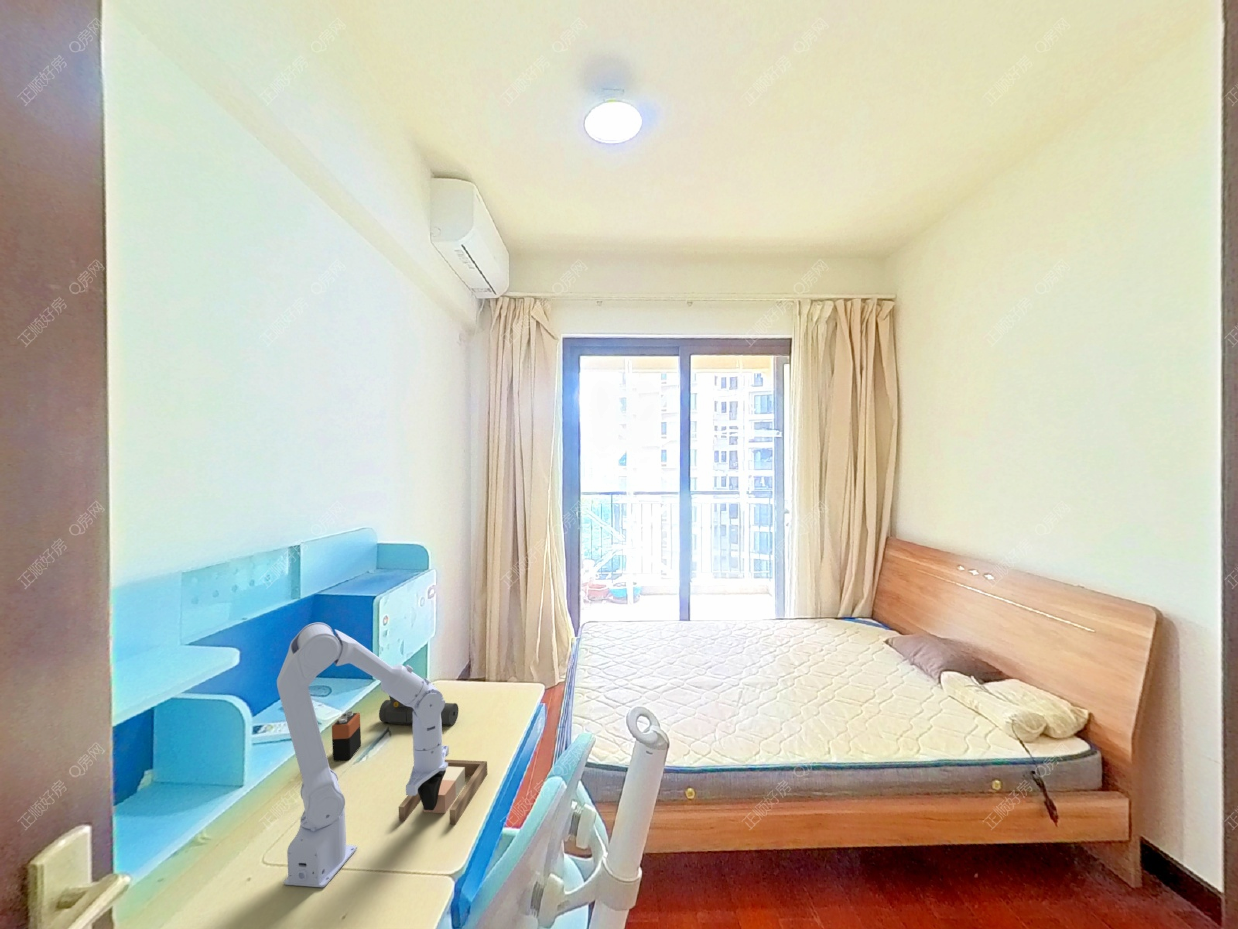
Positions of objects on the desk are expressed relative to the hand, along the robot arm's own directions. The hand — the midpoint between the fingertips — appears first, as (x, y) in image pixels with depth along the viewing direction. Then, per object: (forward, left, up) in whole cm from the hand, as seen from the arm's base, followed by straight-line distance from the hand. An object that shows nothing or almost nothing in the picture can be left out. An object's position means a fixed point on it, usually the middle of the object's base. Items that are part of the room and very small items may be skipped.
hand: (430, 808), depth 109 cm
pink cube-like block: (+4, 0, -2) cm, 5 cm away
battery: (+22, +34, -2) cm, 40 cm away
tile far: (+9, 0, -2) cm, 9 cm away
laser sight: (+38, +24, -2) cm, 45 cm away
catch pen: (+7, 0, -2) cm, 7 cm away
